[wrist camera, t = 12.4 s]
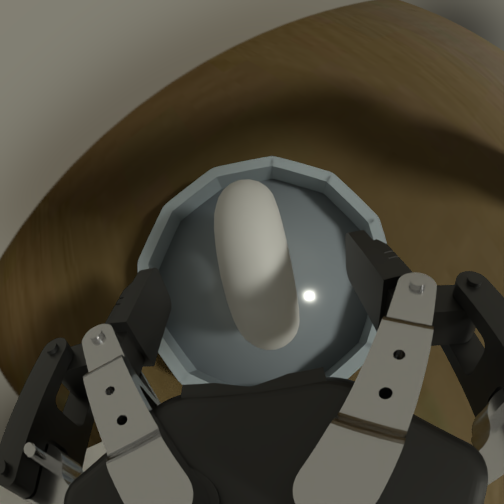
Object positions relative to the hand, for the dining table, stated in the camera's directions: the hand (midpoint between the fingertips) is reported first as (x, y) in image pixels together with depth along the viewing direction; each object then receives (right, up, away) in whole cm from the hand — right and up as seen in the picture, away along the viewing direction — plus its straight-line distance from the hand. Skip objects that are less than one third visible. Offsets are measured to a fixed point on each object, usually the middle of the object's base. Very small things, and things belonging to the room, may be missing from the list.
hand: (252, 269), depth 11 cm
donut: (+1, -1, +10) cm, 10 cm away
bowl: (+1, -2, +11) cm, 11 cm away
